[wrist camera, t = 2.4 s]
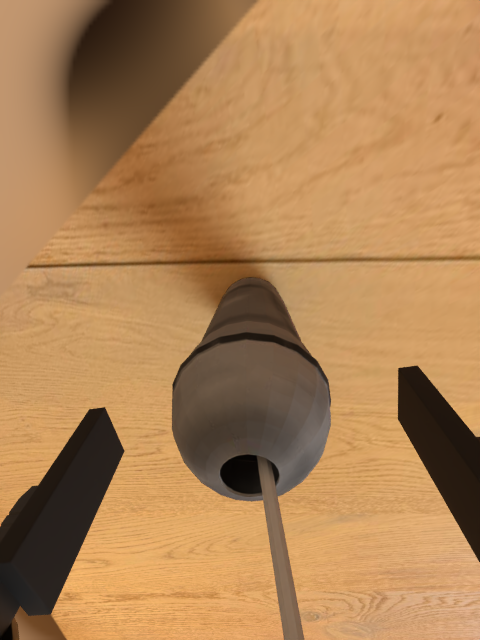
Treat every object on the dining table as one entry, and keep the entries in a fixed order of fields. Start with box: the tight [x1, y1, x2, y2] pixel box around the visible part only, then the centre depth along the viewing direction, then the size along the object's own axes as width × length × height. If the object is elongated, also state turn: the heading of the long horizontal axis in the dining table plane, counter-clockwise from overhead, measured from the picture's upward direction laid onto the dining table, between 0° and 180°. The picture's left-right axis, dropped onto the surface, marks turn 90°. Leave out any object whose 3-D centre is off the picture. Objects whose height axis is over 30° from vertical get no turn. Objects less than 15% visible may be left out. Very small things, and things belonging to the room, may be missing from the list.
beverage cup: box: [172, 277, 331, 640], centre depth 17 cm, size 7×7×20 cm
